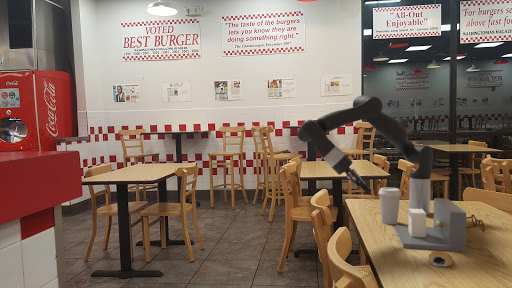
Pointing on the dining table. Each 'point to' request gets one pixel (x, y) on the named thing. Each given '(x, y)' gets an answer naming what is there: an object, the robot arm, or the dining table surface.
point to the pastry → (440, 259)
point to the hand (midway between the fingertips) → (369, 192)
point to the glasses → (476, 223)
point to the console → (439, 229)
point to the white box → (417, 223)
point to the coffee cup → (389, 204)
